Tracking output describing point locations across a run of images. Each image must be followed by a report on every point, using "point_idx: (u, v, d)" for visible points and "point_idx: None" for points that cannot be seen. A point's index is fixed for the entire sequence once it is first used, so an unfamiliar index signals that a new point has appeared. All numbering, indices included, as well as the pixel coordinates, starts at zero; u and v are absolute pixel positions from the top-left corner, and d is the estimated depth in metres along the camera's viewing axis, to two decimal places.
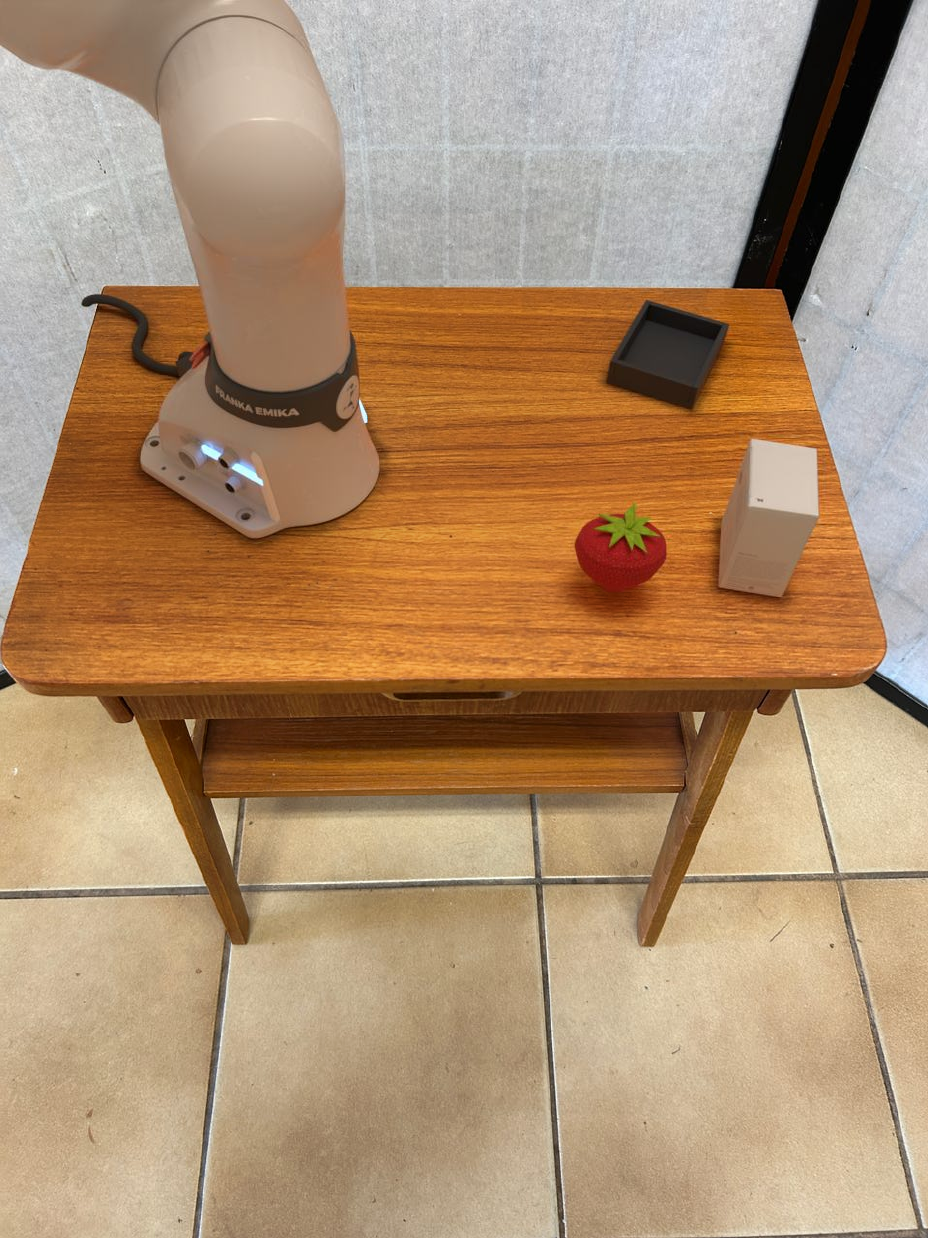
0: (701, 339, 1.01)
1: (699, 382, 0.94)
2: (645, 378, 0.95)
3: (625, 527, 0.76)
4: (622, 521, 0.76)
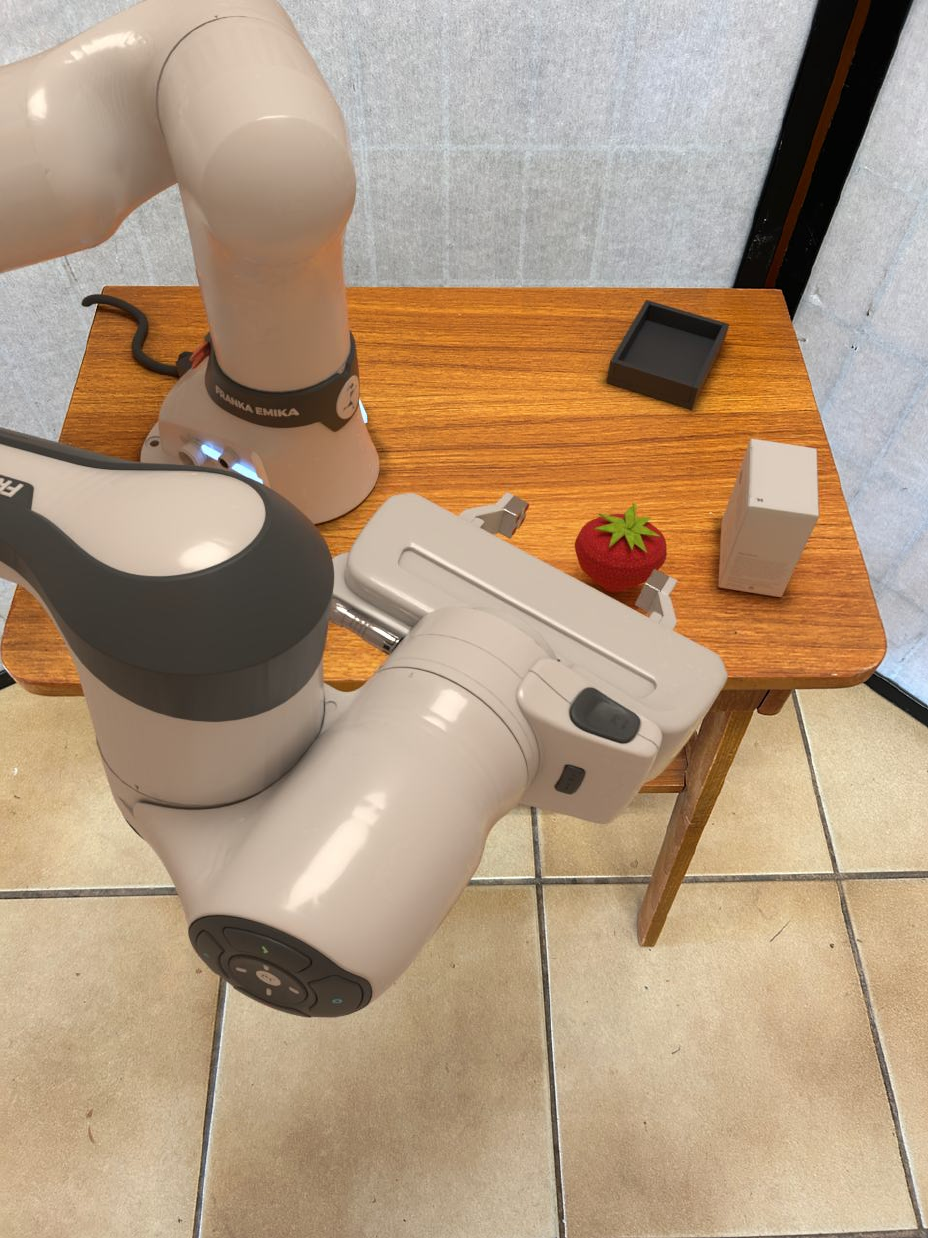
0: (701, 339, 1.01)
1: (699, 382, 0.94)
2: (645, 378, 0.95)
3: (625, 527, 0.76)
4: (622, 521, 0.76)
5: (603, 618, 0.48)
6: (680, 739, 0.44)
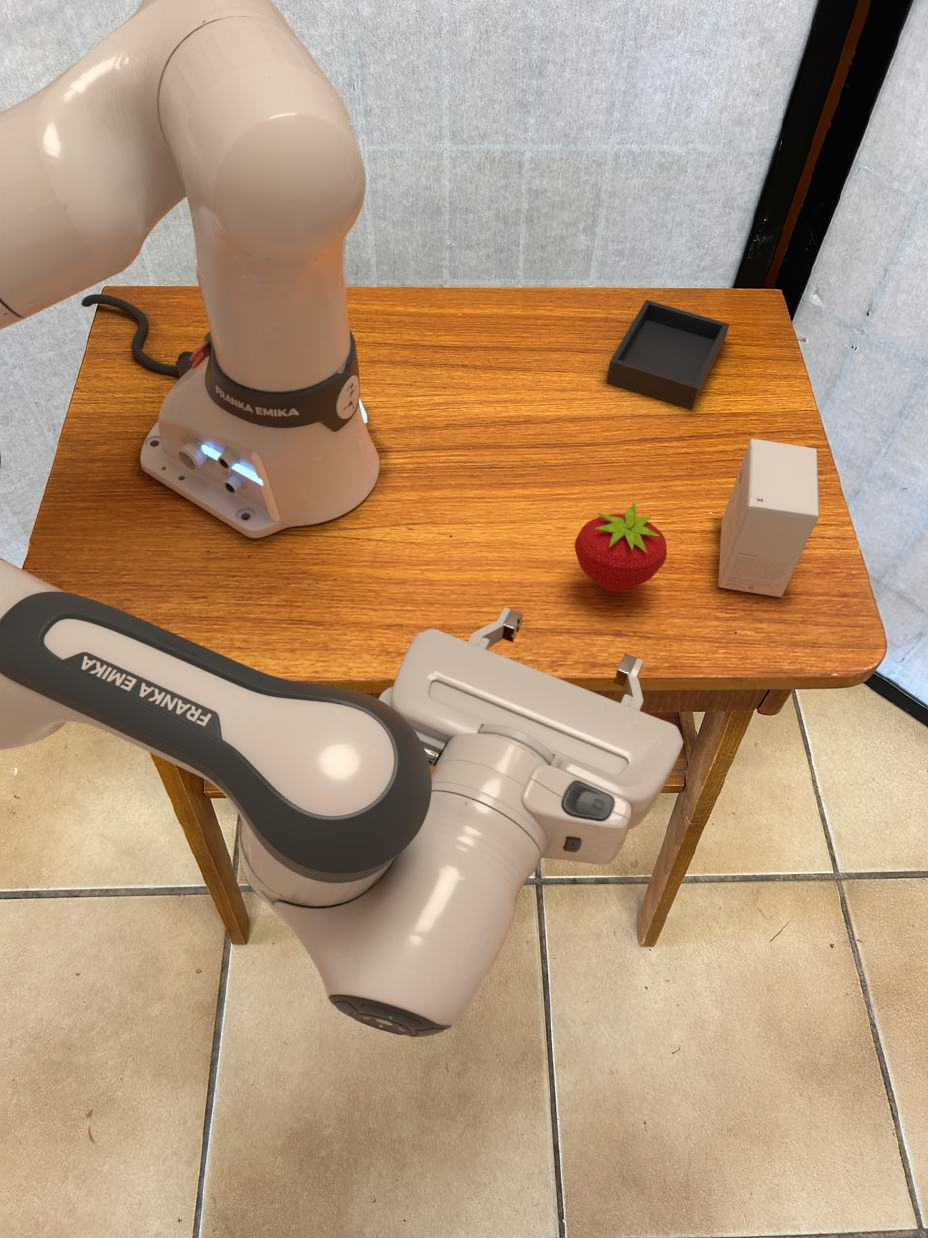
0: (701, 339, 1.01)
1: (699, 382, 0.94)
2: (645, 378, 0.95)
3: (625, 527, 0.76)
4: (622, 521, 0.76)
5: (585, 712, 0.64)
6: (649, 802, 0.61)
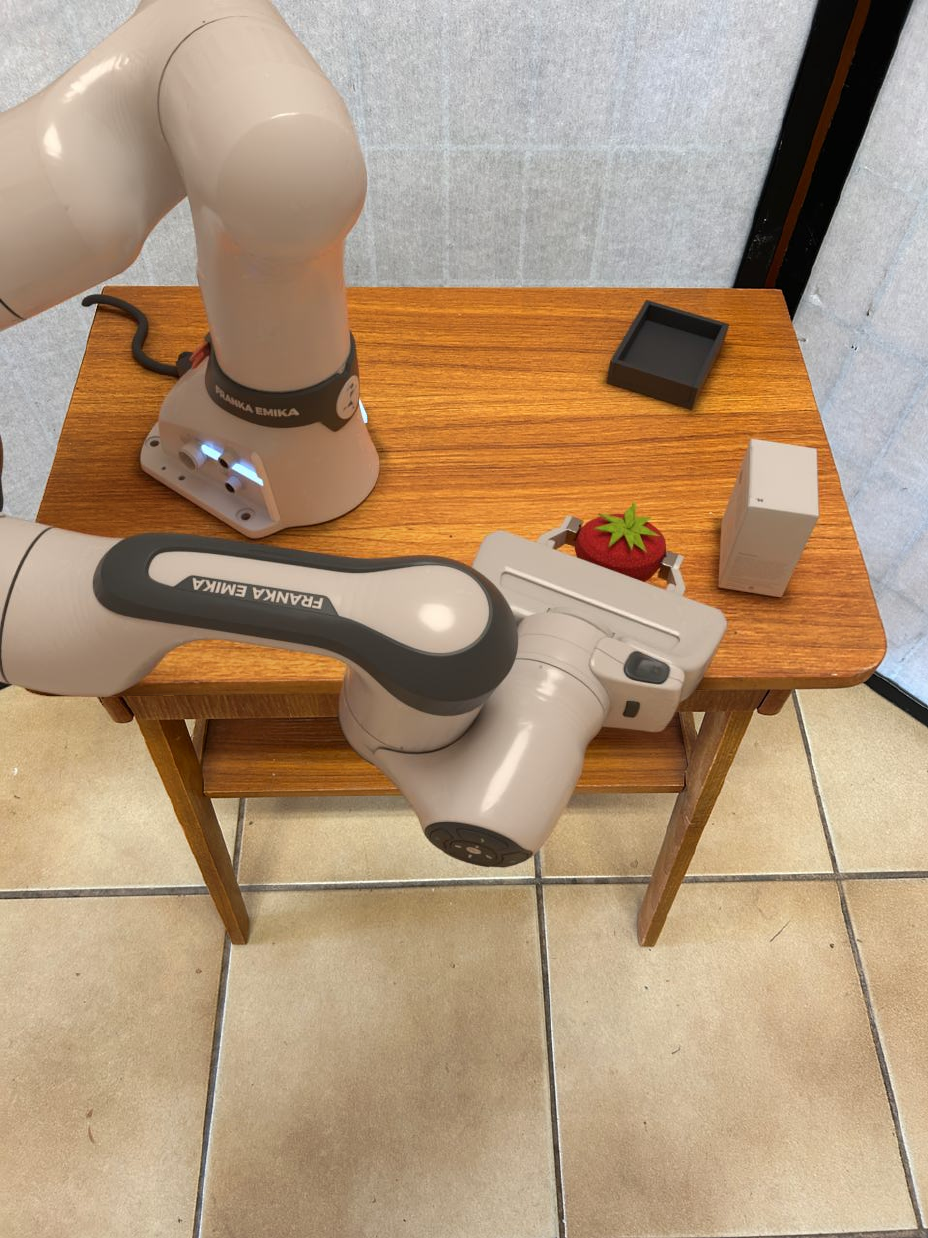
0: (701, 339, 1.01)
1: (699, 382, 0.94)
2: (645, 378, 0.95)
3: (625, 527, 0.76)
4: (622, 521, 0.76)
5: (639, 598, 0.72)
6: (698, 672, 0.69)
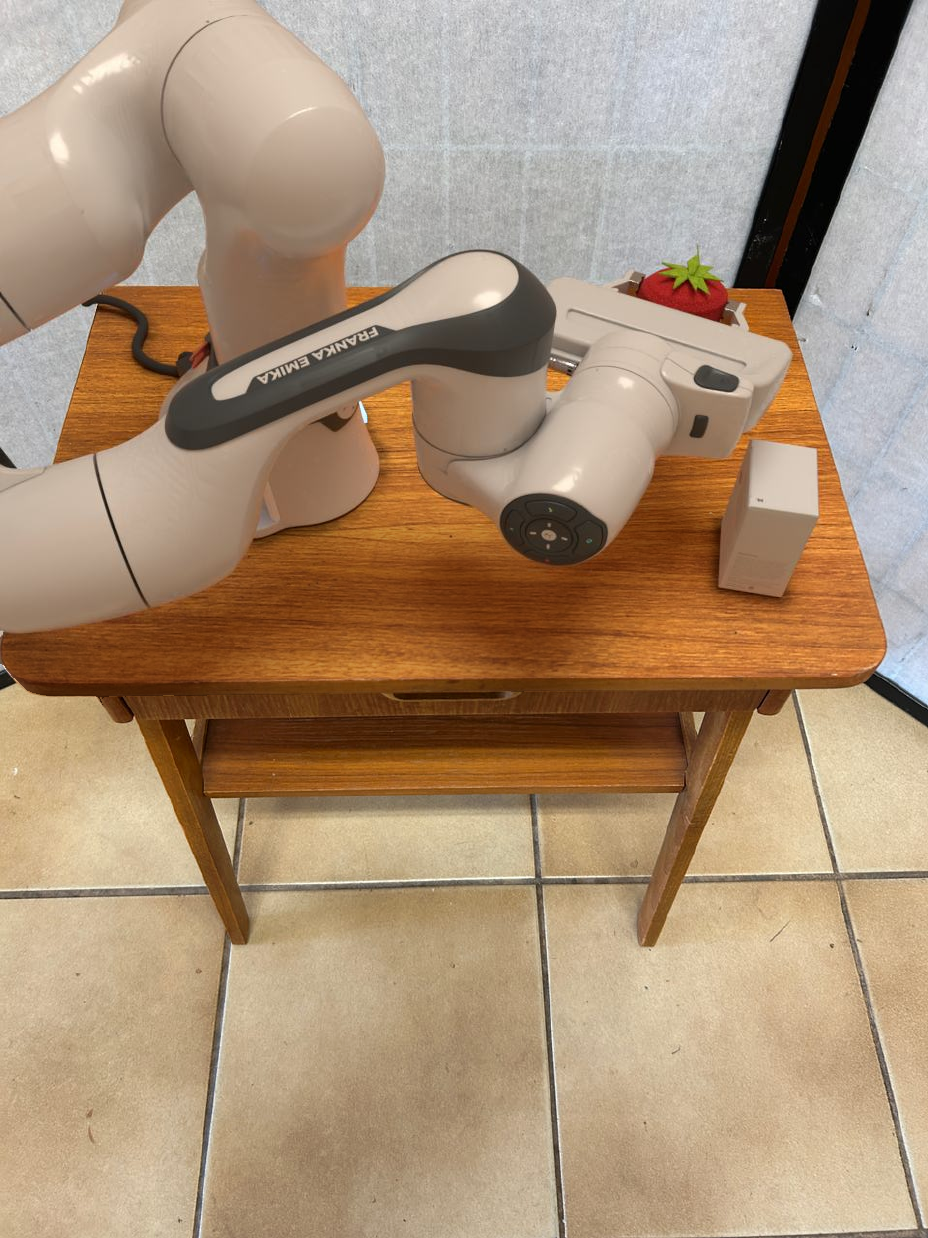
0: None
1: None
2: None
3: (688, 273, 0.77)
4: (685, 268, 0.77)
5: (705, 331, 0.73)
6: (765, 392, 0.70)
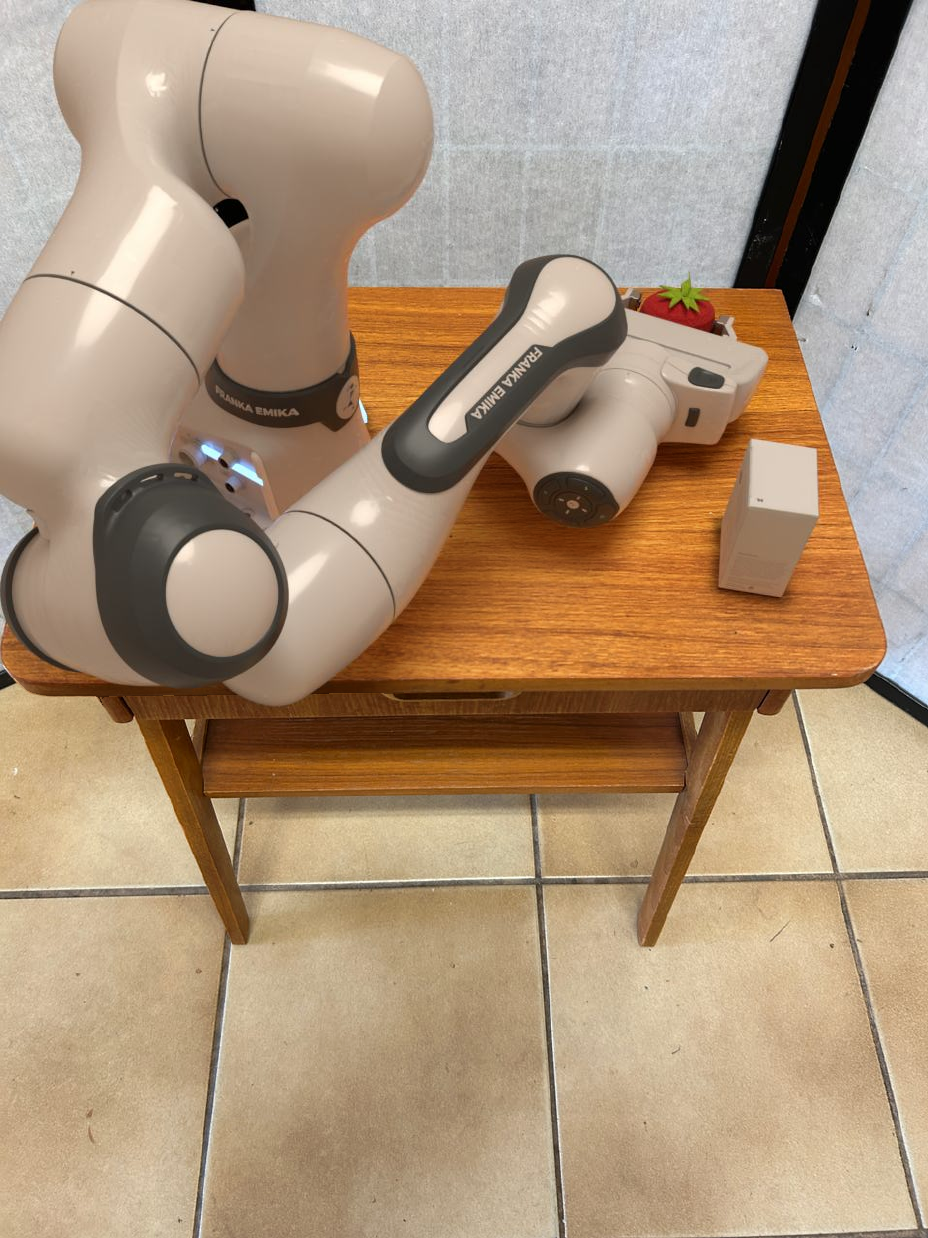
0: None
1: None
2: None
3: (681, 294, 0.92)
4: (679, 290, 0.93)
5: (696, 339, 0.89)
6: (746, 389, 0.86)
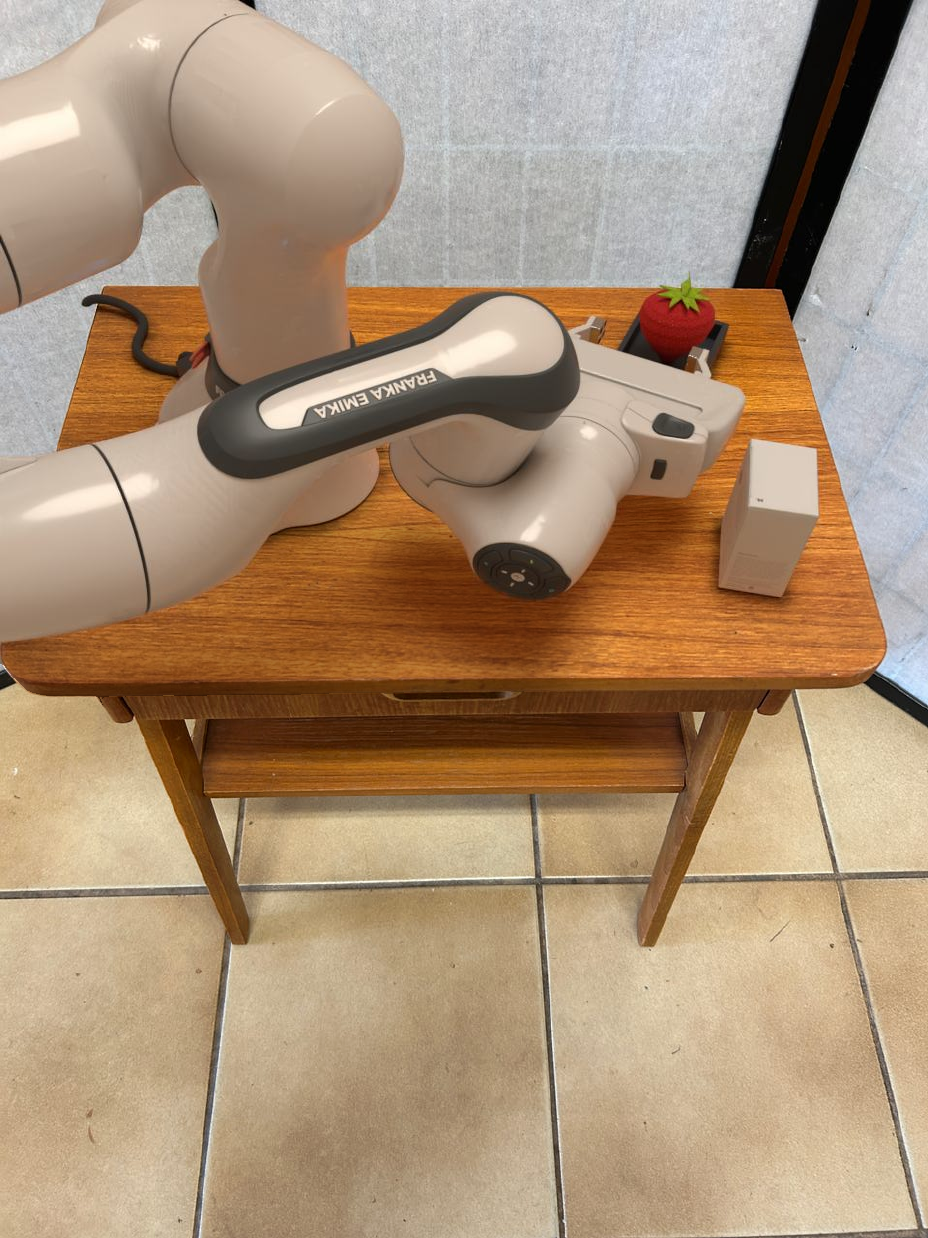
0: None
1: None
2: None
3: (681, 294, 0.93)
4: (679, 290, 0.93)
5: (664, 378, 0.78)
6: (720, 436, 0.75)
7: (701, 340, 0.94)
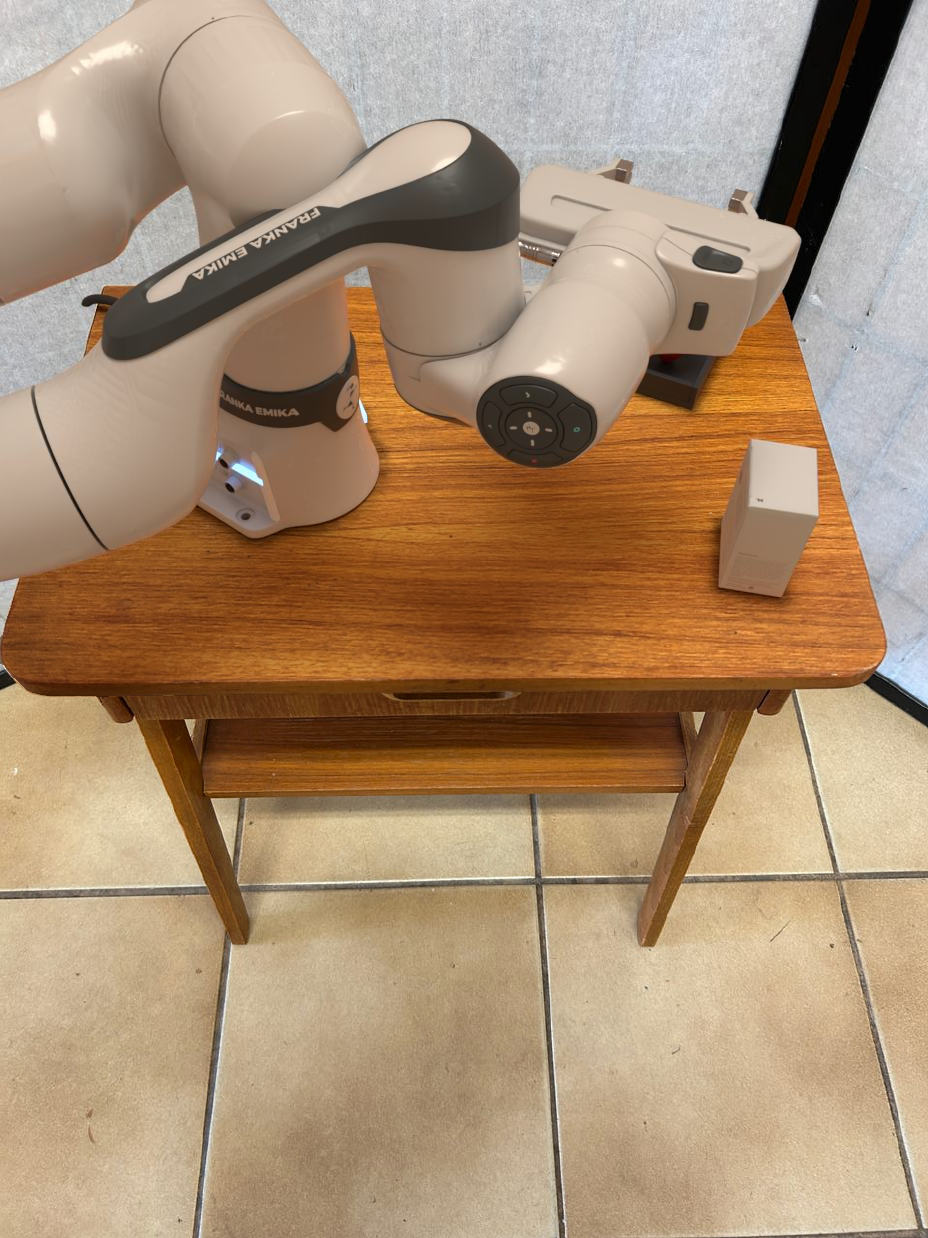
0: None
1: (699, 382, 0.94)
2: (645, 378, 0.95)
3: None
4: None
5: (704, 216, 0.66)
6: (772, 278, 0.63)
7: None
